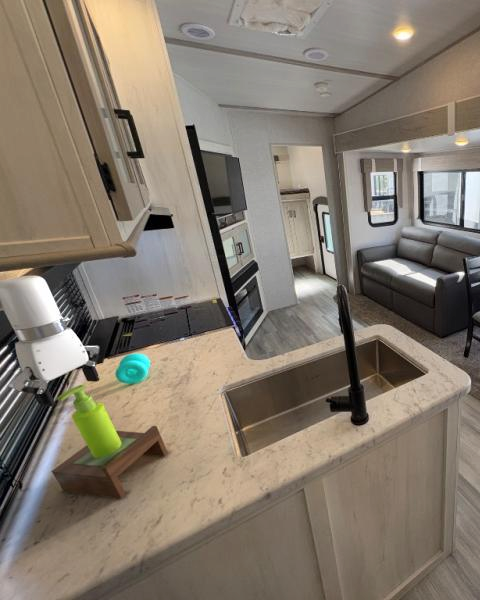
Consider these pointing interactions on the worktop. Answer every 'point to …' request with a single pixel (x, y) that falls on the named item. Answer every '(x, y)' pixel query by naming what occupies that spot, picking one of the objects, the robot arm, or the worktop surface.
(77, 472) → the wooden picture frame
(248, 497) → the worktop surface
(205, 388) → the worktop surface
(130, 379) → the turquoise spool
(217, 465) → the worktop surface
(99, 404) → the soap dispenser
